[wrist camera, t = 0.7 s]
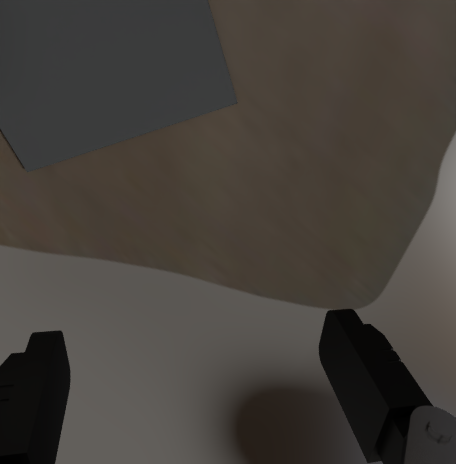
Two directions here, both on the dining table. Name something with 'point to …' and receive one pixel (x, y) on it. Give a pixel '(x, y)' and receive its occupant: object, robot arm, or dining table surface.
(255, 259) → the dining table surface
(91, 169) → the dining table surface
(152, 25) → the rubber mat
